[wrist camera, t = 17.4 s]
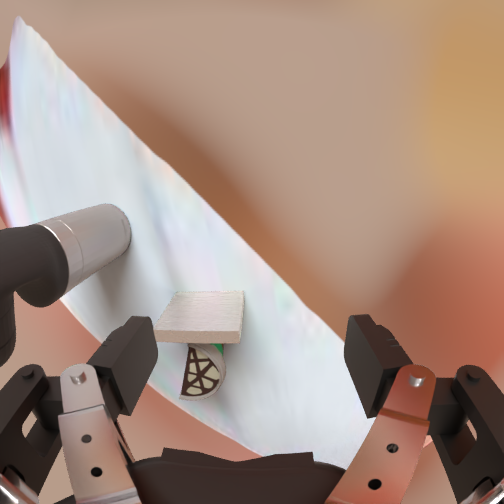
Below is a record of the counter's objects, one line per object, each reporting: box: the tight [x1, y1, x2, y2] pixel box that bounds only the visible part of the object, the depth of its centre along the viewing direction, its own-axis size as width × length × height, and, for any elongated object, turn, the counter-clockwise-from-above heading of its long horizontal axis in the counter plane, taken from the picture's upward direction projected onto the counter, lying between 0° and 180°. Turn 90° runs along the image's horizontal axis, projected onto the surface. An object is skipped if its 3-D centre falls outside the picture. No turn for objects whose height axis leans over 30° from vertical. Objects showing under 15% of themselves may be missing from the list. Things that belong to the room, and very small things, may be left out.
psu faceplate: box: [153, 291, 244, 343], centre depth 39 cm, size 11×2×12 cm, turn 92°
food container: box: [179, 343, 226, 400], centre depth 42 cm, size 12×6×10 cm, turn 165°
